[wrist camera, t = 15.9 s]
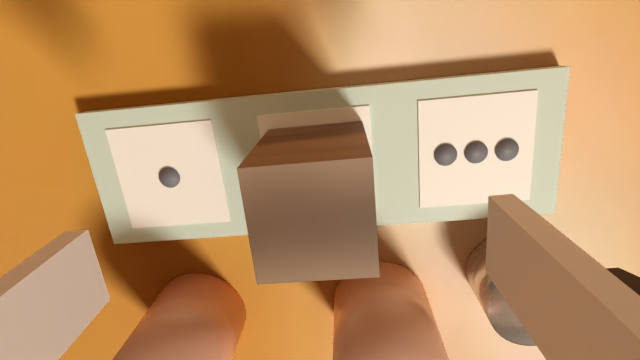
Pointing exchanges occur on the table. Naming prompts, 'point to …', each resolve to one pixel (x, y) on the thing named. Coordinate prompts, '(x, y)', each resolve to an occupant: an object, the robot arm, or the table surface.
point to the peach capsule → (189, 322)
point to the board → (326, 108)
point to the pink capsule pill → (385, 318)
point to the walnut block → (311, 204)
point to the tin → (494, 300)
